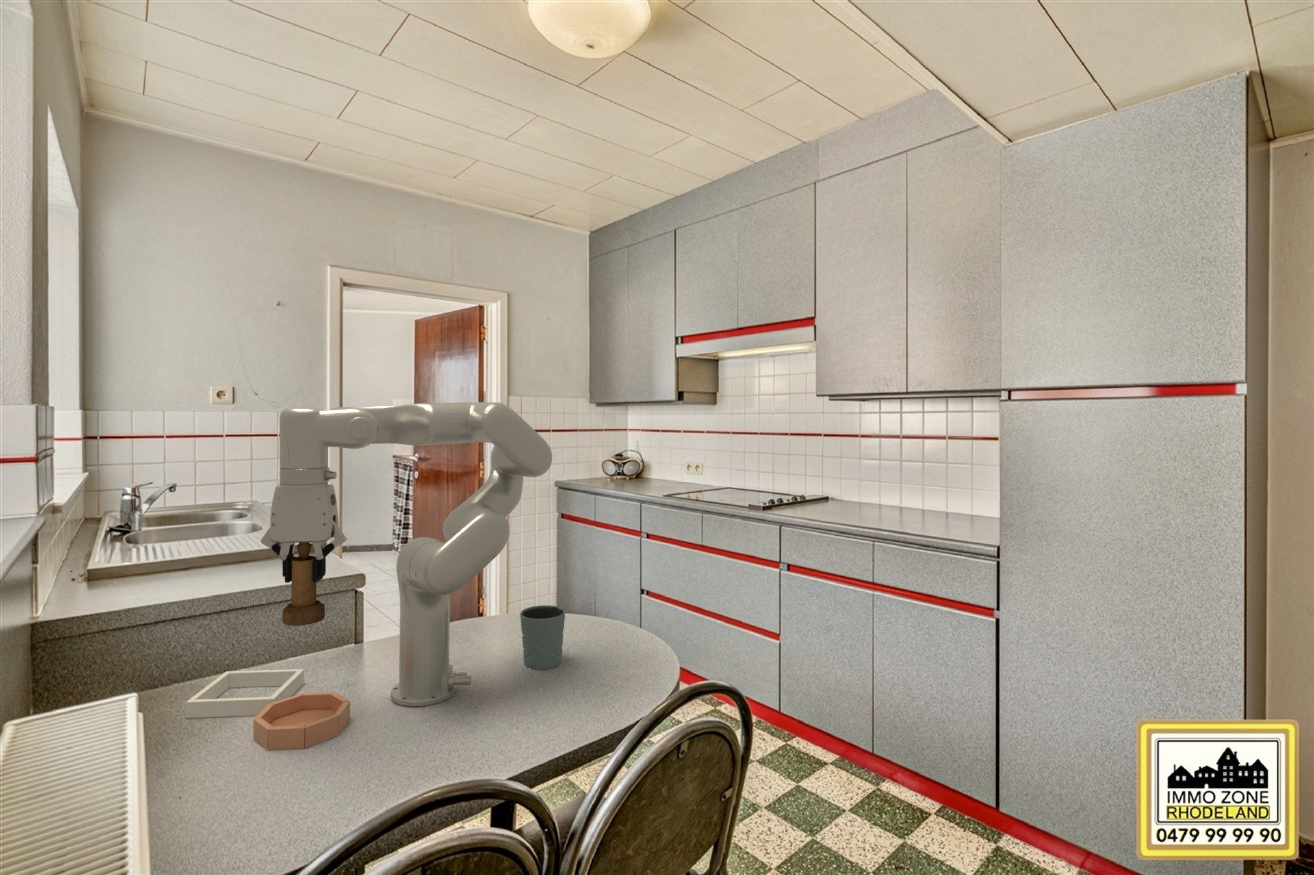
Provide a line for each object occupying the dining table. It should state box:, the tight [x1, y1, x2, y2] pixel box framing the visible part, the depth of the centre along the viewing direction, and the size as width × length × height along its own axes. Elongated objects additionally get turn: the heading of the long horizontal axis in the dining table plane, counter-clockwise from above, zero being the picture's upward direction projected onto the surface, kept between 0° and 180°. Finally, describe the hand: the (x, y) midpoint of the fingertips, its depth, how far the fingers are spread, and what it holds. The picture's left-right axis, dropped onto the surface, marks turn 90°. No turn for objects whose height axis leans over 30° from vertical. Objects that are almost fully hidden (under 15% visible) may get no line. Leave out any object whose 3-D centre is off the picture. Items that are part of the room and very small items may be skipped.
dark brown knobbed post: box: [282, 543, 326, 627], centre depth 113 cm, size 7×6×18 cm
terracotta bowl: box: [252, 691, 351, 751], centre depth 114 cm, size 14×14×4 cm
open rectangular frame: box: [185, 668, 305, 719], centre depth 124 cm, size 15×14×3 cm
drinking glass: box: [519, 604, 566, 671], centre depth 146 cm, size 10×10×12 cm
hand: (304, 579), depth 113 cm, fingers closed on dark brown knobbed post, 3 cm apart
